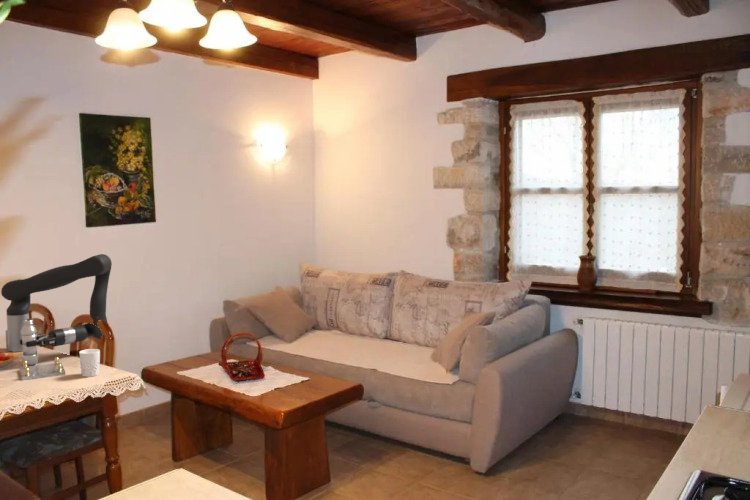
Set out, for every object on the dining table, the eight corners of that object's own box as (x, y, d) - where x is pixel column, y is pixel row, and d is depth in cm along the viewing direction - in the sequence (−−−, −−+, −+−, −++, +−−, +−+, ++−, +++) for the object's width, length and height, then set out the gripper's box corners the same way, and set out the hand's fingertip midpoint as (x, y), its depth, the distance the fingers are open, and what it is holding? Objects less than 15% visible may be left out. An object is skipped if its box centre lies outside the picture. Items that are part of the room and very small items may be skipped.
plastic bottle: (24, 367, 281) (22, 322, 279) (20, 364, 286) (18, 319, 284) (40, 365, 285) (38, 320, 283) (36, 362, 290) (34, 317, 288)
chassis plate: (19, 370, 277) (19, 360, 277) (61, 365, 286) (60, 355, 285) (21, 380, 264) (21, 370, 263) (65, 374, 272) (65, 364, 272)
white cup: (91, 378, 268) (91, 354, 267) (75, 376, 270) (74, 352, 269) (104, 372, 275) (104, 349, 274) (88, 371, 278) (88, 348, 276)
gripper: (54, 326, 300) (15, 332, 287) (69, 330, 291) (30, 337, 278) (55, 342, 301) (16, 349, 287) (70, 347, 292) (31, 354, 278)
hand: (23, 343), depth 283 cm, fingers closed on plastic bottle, 5 cm apart
